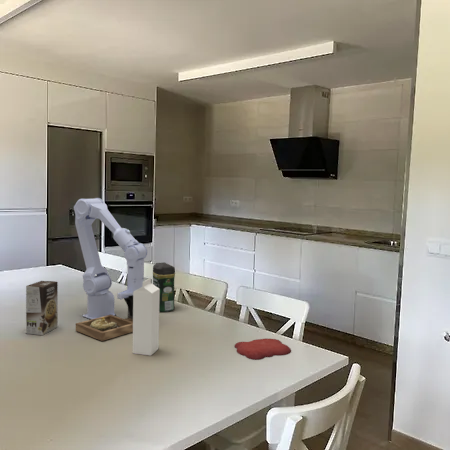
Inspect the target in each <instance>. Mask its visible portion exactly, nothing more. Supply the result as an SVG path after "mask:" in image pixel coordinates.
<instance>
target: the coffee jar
mask: <svg viewBox="0 0 450 450" xmlns="http://www.w3.org/2000/svg"><path fill="white" fill-rule="evenodd" d="M175 269H176V268H175V267H174V266H173V265H171V264H168V263H167V262H156V263H155V264H154V265H153V266H152V284H153V285H155V286H156V287H158V288H159V289H160V296H159V313H160V312H162V313H168V312H171V311H174V310H175V276H176V270H175Z"/></svg>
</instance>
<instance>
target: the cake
mask: <svg viewBox="0 0 450 450" xmlns="http://www.w3.org/2000/svg"><path fill="white" fill-rule="evenodd" d="M90 327H92V328H94V329H97V330H100V331H107V330H110V329H114V328H117V327H118V325H117V324H116V323H115V322H111V323H107V322H106V320H105V319H104V318H102V320H101V319H99V320H95V321H93V322H92V323H91V325H90Z"/></svg>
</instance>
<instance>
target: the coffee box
mask: <svg viewBox="0 0 450 450" xmlns="http://www.w3.org/2000/svg"><path fill="white" fill-rule="evenodd" d="M58 286H59V283H58V281H54V280H40V281H37V282H34V283H30V284H28V285H26V287H25V289H26V290H25V292H26V293H25V295H26V297H25V299H26V300H25V308H26V309H25V311H26V312H25V314H26V315H25V316H26V317H25V321H26V322H25V326H26V329H25V334H26V335H27V334H28V335H36V336H44V335H47V334H48V333H49V332H51V331H53V330H56V329H58V326H59V325H58V321H59V319H58V315H59V314H58V311H59V309H58V308H59V307H58V293H59V292H58V290H59V289H58Z"/></svg>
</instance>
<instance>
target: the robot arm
mask: <svg viewBox="0 0 450 450" xmlns="http://www.w3.org/2000/svg"><path fill="white" fill-rule="evenodd" d="M73 210H74V215H75V218H74V223H75V229H76V232H77V236H78V240H79V244H80V249H81V253H82V257H83V260H84V264H85V268H86V270H85V271H84V273H83V274H82V279H83V282H82V287H83V290H84V292H85V293H86V296H87V301H86V302H87V304H86V305H87V310H86V311H87V313H86V314H85V313H84V314H82V317H84V318H87V319H88V320H91V319H95V318H99V317H103V316H107V315H113V316H116V315H117V314H116V313H115V296H114V293H113V292H112V291H110V290H109V289H110V288H111V287H112V285H113V281H112V277H111V276H110V274H109V273H108V270H107V268H106V267H104V266H103V265H102V261H101V258H100V254H99V250H98V245H97V242H96V238H95V234H94V230H93V229H94V228H93V225H92V224H93V223H94V222H95V221H96V219H98V220H100V221H101V222H102V224H104V225H105V227H106V228H107V229H109V231H110V232H111V233H112V235H113V240H114V242H116V244H118V246H119V247H120V249H121V250H122V251H123V252H124V253H123V255H124V258H125V260H126V265H127V271H126V272H127V279H126V280H127V282H126V283H127V284H126V289H125V290H123V291H121V292H120V291H119V292H117V298H116V299H117V300H124V301H125V303H126V306H127V310H128V309H129V312H130V316H133V292H134V291H135V290H137V289H139V288H141V287H143V281H145V280H144V279H145V278H144V277H145V275H144V274H145V259H146V257H147V255H148V249H147V247H146V245H145V244H143V243H141V242H139V241H138V240H137V239H135V237H134V236H133V235H132V234H131V231H130V230H129V229H128V228H126V227H125V228H124V227H121V225H120V224H119V223H118V221H117V220H116V219H115V217H114V216H113V214H112V213H111V212H110V211H109V209H108V205H107V204H106V203H105V201H104V200H103V199H102V198H100V197H94V198H79V199H78V200H77V201H76V203H75V204H74V205H73Z"/></svg>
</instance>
